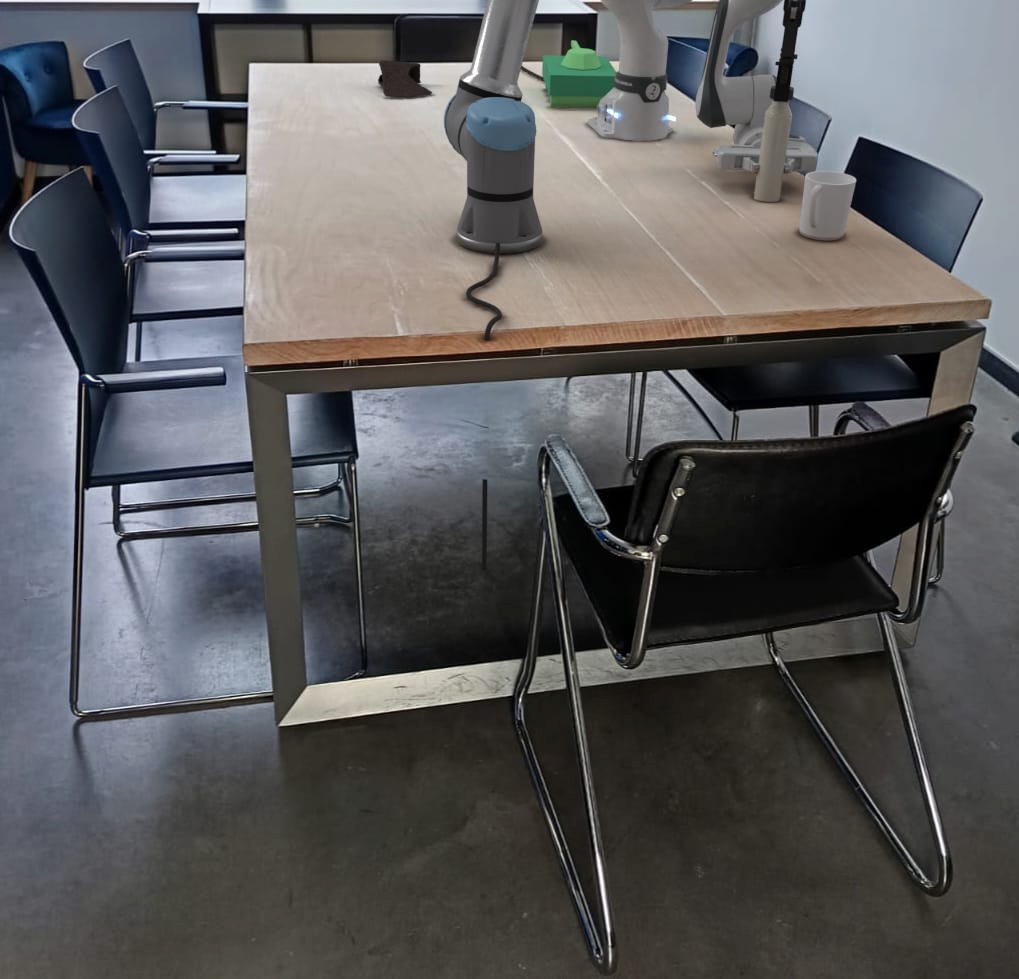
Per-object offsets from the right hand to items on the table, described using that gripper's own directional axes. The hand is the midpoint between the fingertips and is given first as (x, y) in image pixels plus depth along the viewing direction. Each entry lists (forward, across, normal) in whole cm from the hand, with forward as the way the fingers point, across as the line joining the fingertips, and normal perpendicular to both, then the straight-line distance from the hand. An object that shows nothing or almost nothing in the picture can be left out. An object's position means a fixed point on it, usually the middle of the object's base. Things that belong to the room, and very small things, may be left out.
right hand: (771, 169), depth 217 cm
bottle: (-1, 0, +6) cm, 6 cm away
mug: (+22, +6, +6) cm, 24 cm away
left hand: (-1, 0, -13) cm, 13 cm away
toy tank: (-92, -37, +6) cm, 99 cm away
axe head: (-91, -85, +6) cm, 125 cm away
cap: (-1, 0, -15) cm, 15 cm away
